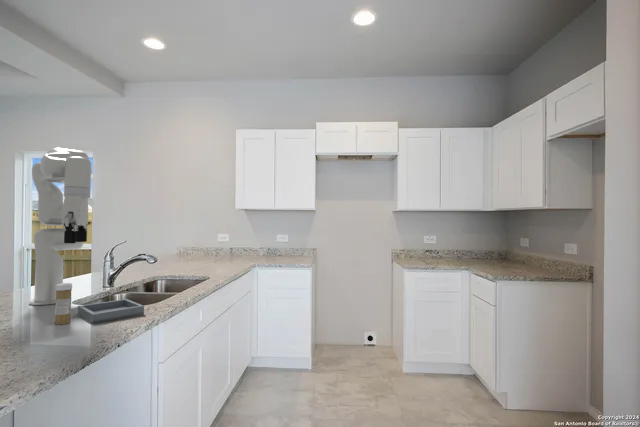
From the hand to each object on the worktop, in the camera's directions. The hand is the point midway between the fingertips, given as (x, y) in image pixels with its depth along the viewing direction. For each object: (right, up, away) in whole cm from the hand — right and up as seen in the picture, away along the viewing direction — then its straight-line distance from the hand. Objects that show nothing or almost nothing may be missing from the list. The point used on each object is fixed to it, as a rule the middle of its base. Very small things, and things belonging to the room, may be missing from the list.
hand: (75, 242), depth 119 cm
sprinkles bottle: (-4, -28, 0) cm, 28 cm away
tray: (+5, -28, +11) cm, 31 cm away
